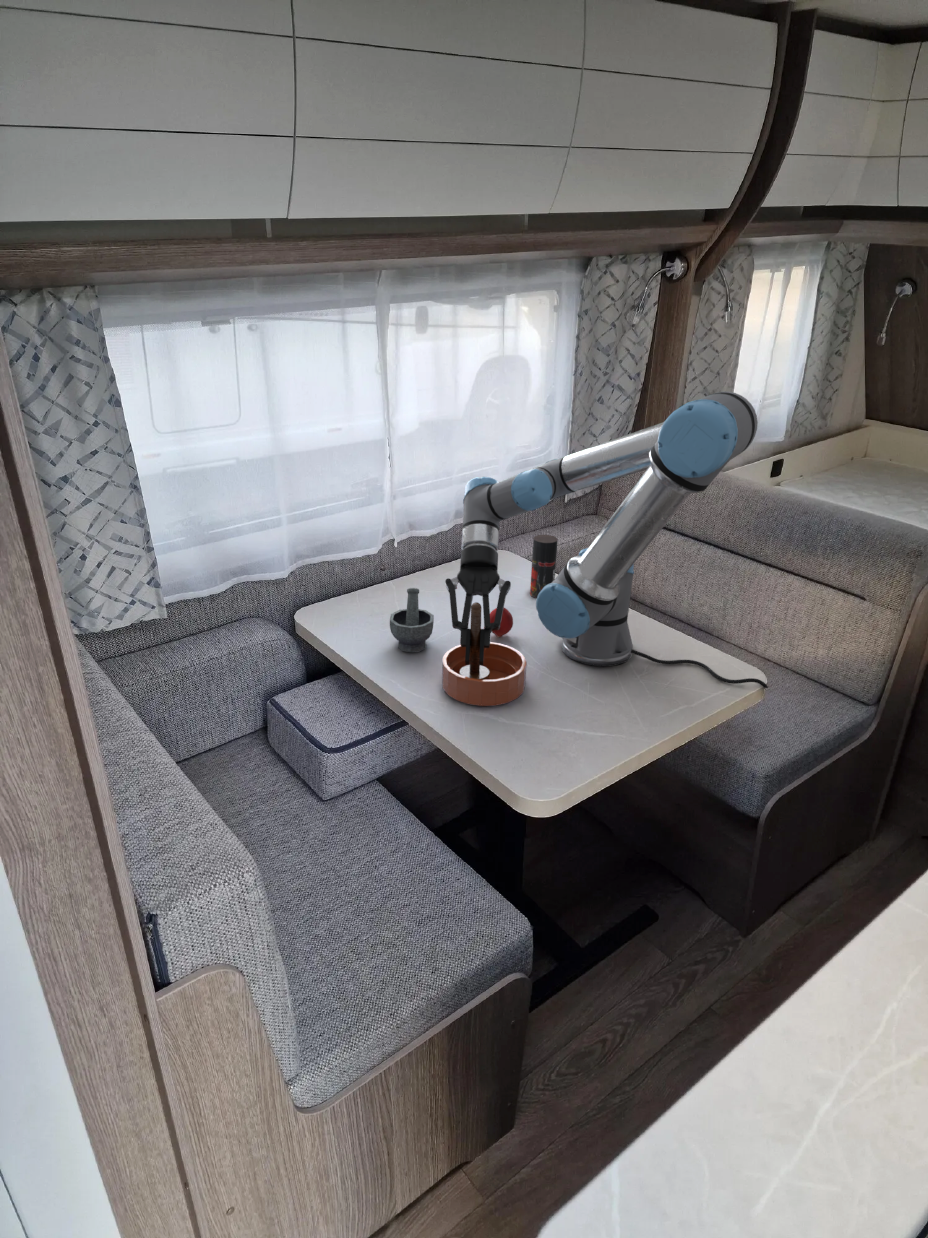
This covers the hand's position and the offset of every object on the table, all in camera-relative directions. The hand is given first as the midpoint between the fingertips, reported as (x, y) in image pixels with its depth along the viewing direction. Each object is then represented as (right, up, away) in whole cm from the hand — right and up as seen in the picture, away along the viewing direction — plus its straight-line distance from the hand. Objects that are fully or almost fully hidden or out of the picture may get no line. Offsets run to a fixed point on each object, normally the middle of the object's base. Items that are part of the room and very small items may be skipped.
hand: (474, 662), depth 157 cm
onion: (+6, +4, +28) cm, 29 cm away
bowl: (+2, -5, +8) cm, 10 cm away
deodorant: (+18, +14, +50) cm, 55 cm away
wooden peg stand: (0, -4, +6) cm, 7 cm away
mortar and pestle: (-13, +3, +24) cm, 28 cm away
